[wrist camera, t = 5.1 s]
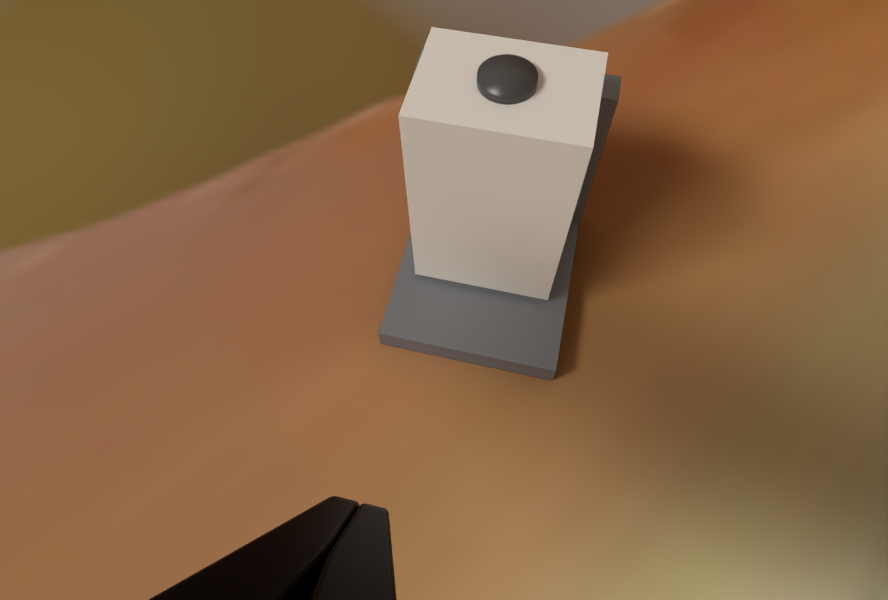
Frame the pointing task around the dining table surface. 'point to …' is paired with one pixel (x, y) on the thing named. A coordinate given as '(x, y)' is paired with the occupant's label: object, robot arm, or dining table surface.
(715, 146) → the dining table surface
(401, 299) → the housing
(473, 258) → the plunger
